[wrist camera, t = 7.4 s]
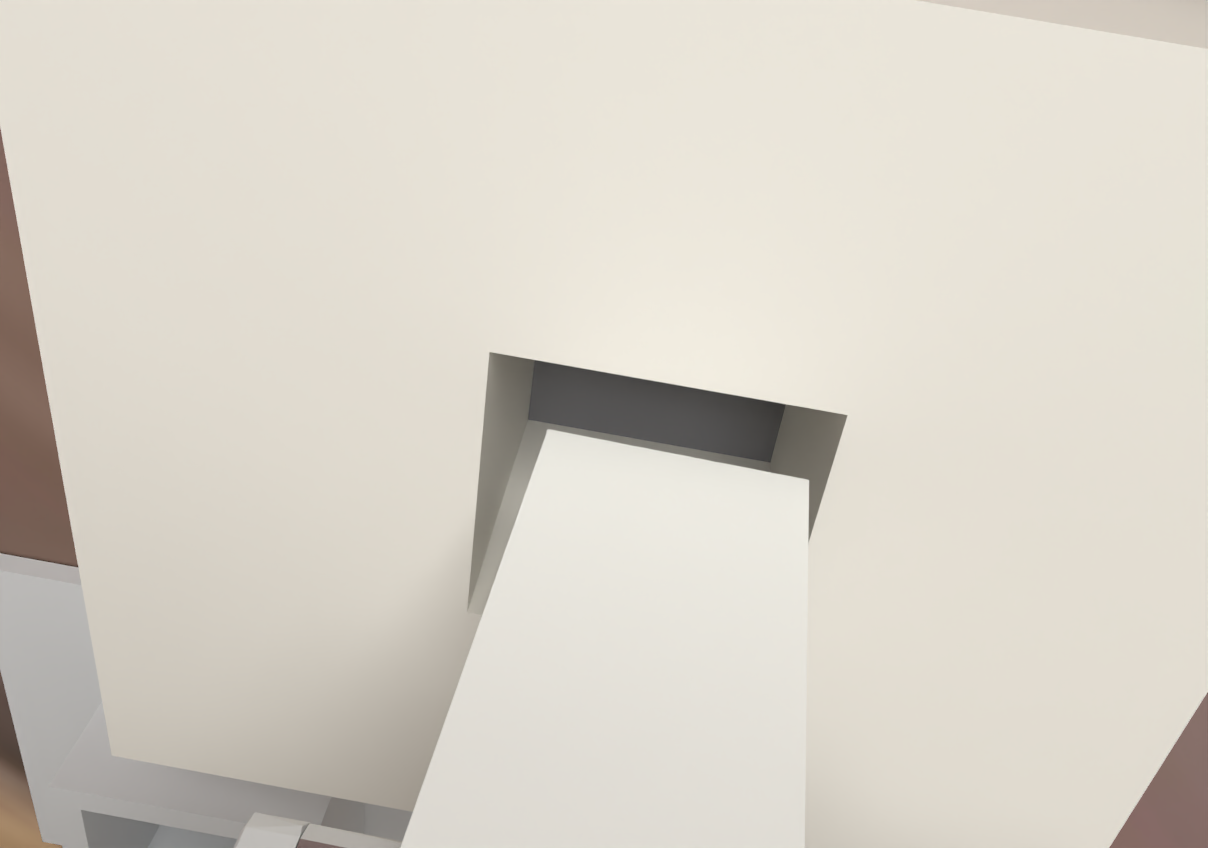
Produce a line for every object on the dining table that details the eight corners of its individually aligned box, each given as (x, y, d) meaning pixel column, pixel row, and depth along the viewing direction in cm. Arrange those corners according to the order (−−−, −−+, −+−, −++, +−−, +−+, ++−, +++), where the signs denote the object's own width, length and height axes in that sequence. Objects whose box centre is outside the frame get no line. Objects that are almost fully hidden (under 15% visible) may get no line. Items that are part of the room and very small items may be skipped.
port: (246, 530, 24) (100, 774, 19) (198, -218, 16) (-76, -155, 11) (996, 666, 24) (1061, 954, 19) (1325, -33, 16) (1600, 124, 11)
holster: (52, 826, 31) (-33, 964, 28) (-13, 550, 26) (-129, 684, 22) (484, 907, 31) (450, 1057, 28) (516, 647, 25) (478, 797, 22)
